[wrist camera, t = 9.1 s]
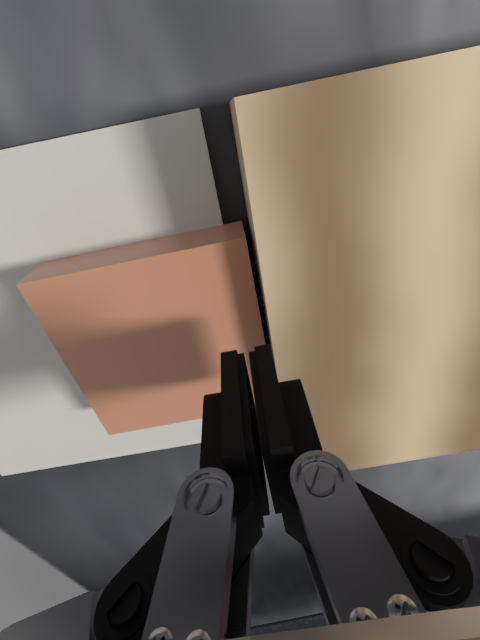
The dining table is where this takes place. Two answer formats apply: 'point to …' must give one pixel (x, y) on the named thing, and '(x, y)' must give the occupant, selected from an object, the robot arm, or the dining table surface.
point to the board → (372, 251)
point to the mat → (78, 238)
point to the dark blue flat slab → (290, 625)
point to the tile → (150, 322)
